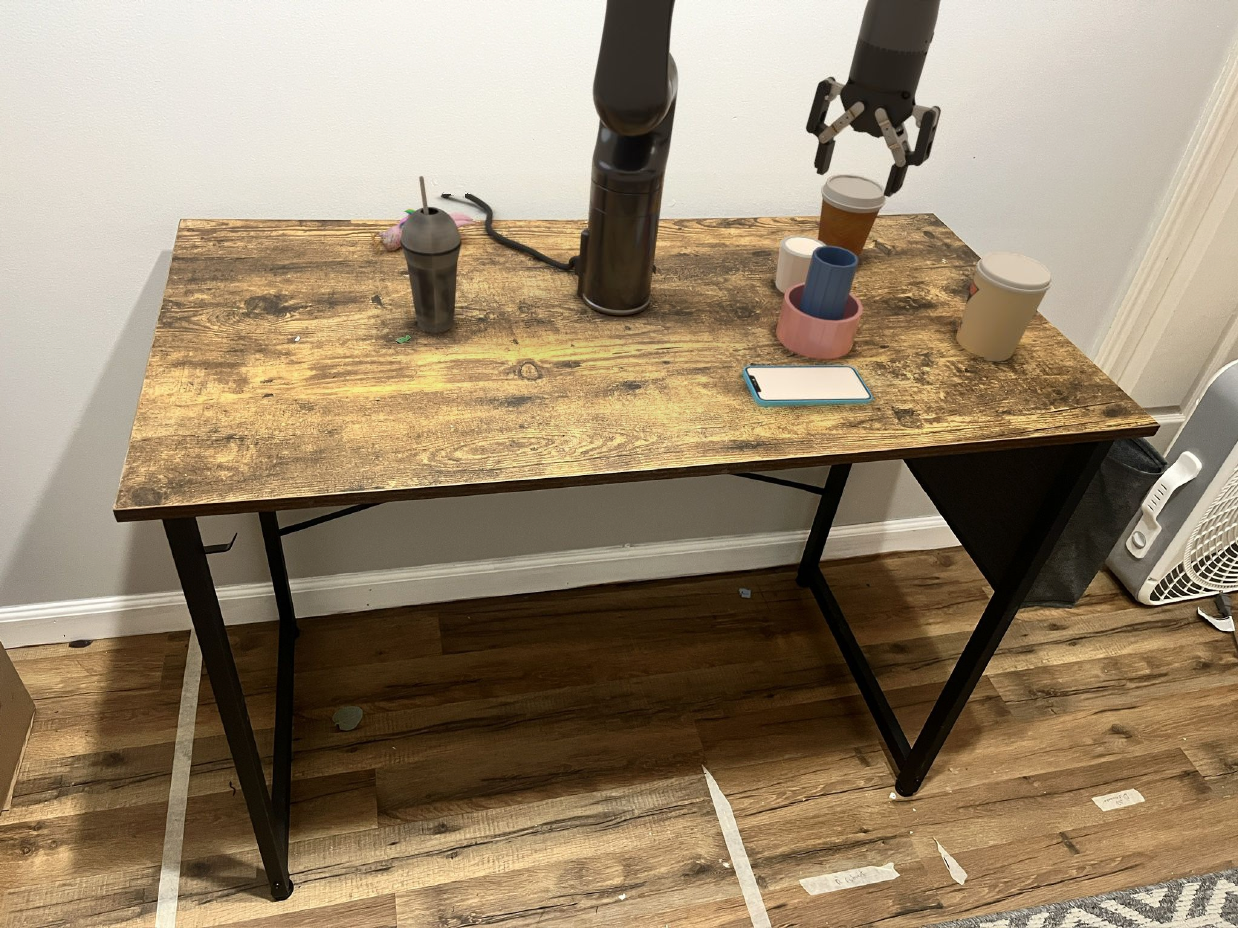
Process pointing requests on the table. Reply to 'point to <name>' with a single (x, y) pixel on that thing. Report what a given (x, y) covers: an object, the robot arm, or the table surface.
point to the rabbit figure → (393, 234)
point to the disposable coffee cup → (849, 211)
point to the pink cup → (817, 328)
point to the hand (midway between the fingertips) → (855, 183)
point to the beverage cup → (432, 264)
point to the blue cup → (828, 282)
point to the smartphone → (806, 385)
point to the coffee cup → (1001, 304)
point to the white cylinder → (794, 260)
